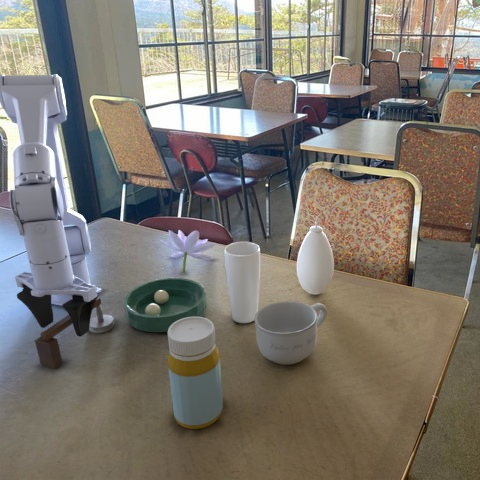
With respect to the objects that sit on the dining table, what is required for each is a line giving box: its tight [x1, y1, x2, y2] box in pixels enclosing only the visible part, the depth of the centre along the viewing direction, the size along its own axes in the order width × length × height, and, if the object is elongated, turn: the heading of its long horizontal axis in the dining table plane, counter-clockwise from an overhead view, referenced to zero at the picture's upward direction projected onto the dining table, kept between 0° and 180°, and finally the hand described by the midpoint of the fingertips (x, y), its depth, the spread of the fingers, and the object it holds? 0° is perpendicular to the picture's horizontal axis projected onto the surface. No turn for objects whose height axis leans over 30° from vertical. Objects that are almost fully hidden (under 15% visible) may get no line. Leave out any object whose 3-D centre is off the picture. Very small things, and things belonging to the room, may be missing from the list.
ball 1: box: [145, 304, 161, 316], centre depth 92 cm, size 3×3×3 cm
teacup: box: [253, 300, 328, 366], centre depth 84 cm, size 14×11×8 cm
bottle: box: [167, 316, 224, 430], centre depth 68 cm, size 7×7×15 cm
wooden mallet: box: [34, 297, 115, 370], centre depth 85 cm, size 15×4×6 cm, turn 163°
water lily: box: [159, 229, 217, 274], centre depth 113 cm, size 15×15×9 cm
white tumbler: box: [223, 241, 262, 324], centre depth 92 cm, size 7×7×15 cm
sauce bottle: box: [296, 215, 335, 296], centre depth 101 cm, size 8×8×18 cm
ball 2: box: [154, 290, 169, 304], centre depth 97 cm, size 3×3×3 cm
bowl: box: [123, 277, 208, 333], centre depth 95 cm, size 15×15×4 cm
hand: (65, 328), depth 82 cm, fingers open, 7 cm apart
